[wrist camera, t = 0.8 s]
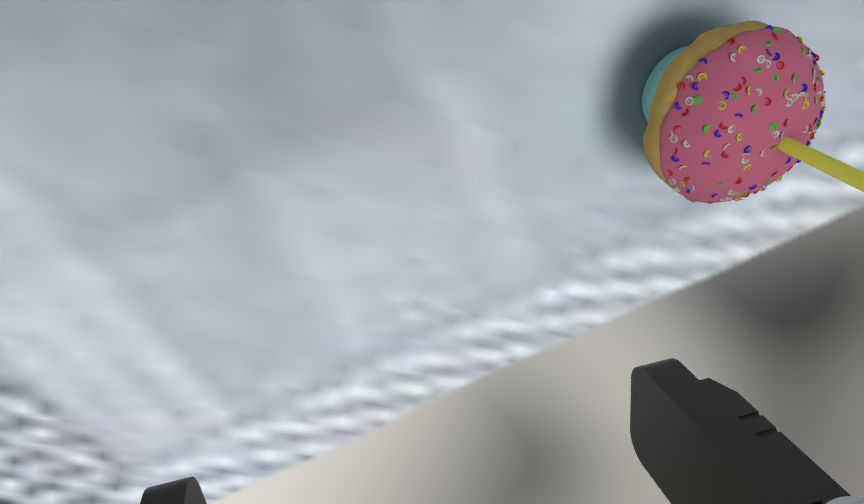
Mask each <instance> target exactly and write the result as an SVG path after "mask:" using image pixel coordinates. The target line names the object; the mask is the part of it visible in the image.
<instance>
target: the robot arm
mask: <svg viewBox="0 0 864 504" xmlns="http://www.w3.org/2000/svg"><path fill="white" fill-rule="evenodd" d="M630 414H631V415H630V433H631V439H632V443H633V446H634V449H635V452H636V454H637V456H638V458H639V460H640V462H641V463H642V465H643V466H644V468H645V469H646V470H647V472H648V473H649V474H650V476H651V477H652V478H653V479H654V481H655V482H656V484H657V485H658V487H659V488H660V489H661V490H662V492H663V493H664V495H665V496H666V497H667V499H668V500H669V501H670V503H671V504H864V497H861V496H851V495H850V494H848V493H847V492H846V491H845V490H844V489H843V488H842V487H841V486H840V485H838V484H837V483H836V482H835V481H834V480H833V479H832V478H831V477H830V476H829V475H827V474H826V473H825V472H824V471H823V470H822V469H821V468H820V467H819V466H818V465H816V464H815V463H814V462H813V461H812V460H811V459H810V458H809V457H808V456H806V454H804V453H803V452H802V451H801V450H800V449H799V448H798V447H797V446H796V445H795V444H793V443H792V442H791V441H790V440H789V439H788V438H787V437H786V436H785V435H784V434H782V433H781V432H777V430H776V427H775V426H774V425H772V423H770V422H769V421H768V420H767V419H766V418H765V417H764V416H760V415H759V413H758V411H757V410H756V409H755V408H754V407H753V406H752V405H751V404H750V403H748V402H747V401H746V400H745V399H744V398H743V397H742V396H741V395H740V394H739V393H738V392H736V391H734V390H731V389H730V388H728V387H726V386H724V385H722V384H720V383H718V382H716V381H714V380H712V379H710V378H707V379H703V380H698V379H697V378H696V377H695V376H694V375H693V374H692V373H691V372H690V371H689V370H688V369H687V368H686V367H685V366H684V365H683V364H682V363H681V362H679V361H678V360H676V359H674V358H671V359H667V360H663V361H659V362H655V363H651V364H647V365H643V366H639V367H636V368H634V369H633V371H632V375H631V413H630ZM140 504H206V501H205V498H204V496H203V493H202V491H201V488H200V486H199V483H198V481H197V480H196V479H195V478H194V477H188V478H184V479H180V480H176V481H172V482H168V483H164V484H160V485H156V486H152V487H148V488H147V489H146V490H145V491H144V493H143V496H142V499H141V503H140Z"/></svg>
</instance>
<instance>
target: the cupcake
mask: <svg viewBox="0 0 864 504" xmlns="http://www.w3.org/2000/svg"><path fill="white" fill-rule="evenodd" d="M800 40H801V41H800ZM816 57H817V58H816ZM815 58H816V59H815ZM818 60H819V56H818V55H817V54H815V53H813V52H812V51H811V50H810V48H808V47H807V46H806V45H804V44H803V40H802V38H801V37H799V36H798V37H796V36H795V35H794V34H792V33H791V32H790V31H789V30H787V29H784V28H780V27H772V26H771V25H767V24H765V23H762V22H759V21H747V22H742V23H737V24H733V25H729V26H724V27H719V28H715V29H711V30H709V31H706V32H705V33H703V34H701V35H700V36H698V37H697V38H696V39H695V41H694V42H693V43H692V44H691V45H687V46H683V47H680V48H678V49H676V50H674V51H672V52H671V53H669V54H668V55H666V56H665V57H664V58H663V59H662V60H661V61H660V62H659V63H658V64H657V65H656V66H655V67H654V69H653V70H652V72H651V73H650V75H649V77H648V79H647V81H646V83H645V86H644V90H643V95H642V109H643V113H644V116H645V119H646V121H647V122H648V126H647V128H646V130H645V133H644V135H643V146H644V151H645V156H646V158H647V160H648V162H649V164H650V166H651V167H652V169H653V170H654V172H655V173H656V174H657V175H658V176H659V177H660V178H661V179H662V180H663V181H664V182H665V183H666V184H667V185H668V186H670V187H671V188H672V189H673V190H674V191H675V192H677V193H679V194H681V195H683V196H684V197H685V198H686V199H688V200H690V201H691V202H692V203H697V202H707V203H713V202H727V201H731V200H735V201H738V200H743V198H742V197H747V196H749V194H751V193H753V194H756V193H757V192H758V191H764V190H766V187H767V185H769V184H771V183H772V182H774V181H776V182H778V181H780V180H781V179H782V176H783V175H784V174H785V172H786V171H787V172H788V171H789V170H790V169H791V168H792V167H793V165H794V164H795V163H799V162H801V161H803V162H805V163H807V164H809V165H811V166H813V167H815V168H817V169H819V170H821V171H823V172H825V173H827V174H829V175H831V176H833V177H835V178H837V179H839V180H841V181H843V182H845V183H847V184H849V185H851V186H853V187H855V188H857V189H859V190H861V191H863V192H864V172H862V171H860V170H858V169H855V168H853V167H851V166H849V165H847V164H845V163H843V162H841V161H839V160H836V159H834V158H832V157H830V156H828V155H826V154H824V153H822V152H819V151H817V150H815V149H813V148H811V147H809V146H810V145H811V142H810V141H812V140H813V139H814V134H815V133H816V131H817V129H818V128H819V126H820V125H821V119H822V116H823V114H824V111H825V106H824V105H825V95H824V94H825V92H826V91H824V92H823V80H822V76H821V75H825V73H824V72H823V71H822V70H819V69H820V66H819V65H818V64H817V62H816V61H818ZM822 73H823V74H822ZM823 108H824V110H823ZM817 126H818V127H817ZM811 138H812V139H811ZM808 144H809V145H808ZM799 160H800V161H799ZM779 178H780V179H779ZM778 179H779V180H778Z"/></svg>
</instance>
